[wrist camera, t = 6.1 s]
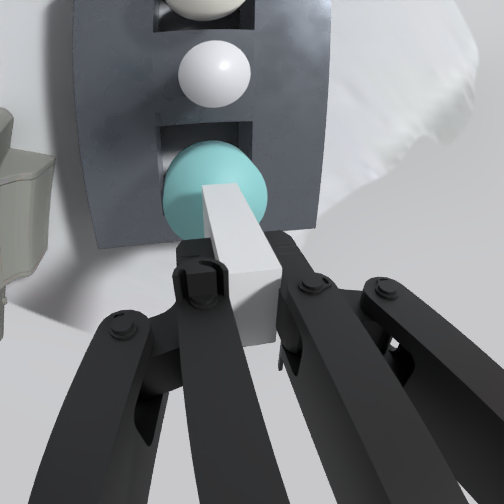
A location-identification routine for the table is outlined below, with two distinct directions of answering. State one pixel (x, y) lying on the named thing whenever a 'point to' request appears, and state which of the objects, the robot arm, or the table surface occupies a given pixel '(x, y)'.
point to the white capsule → (214, 74)
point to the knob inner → (204, 8)
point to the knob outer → (208, 173)
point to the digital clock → (21, 209)
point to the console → (197, 109)
